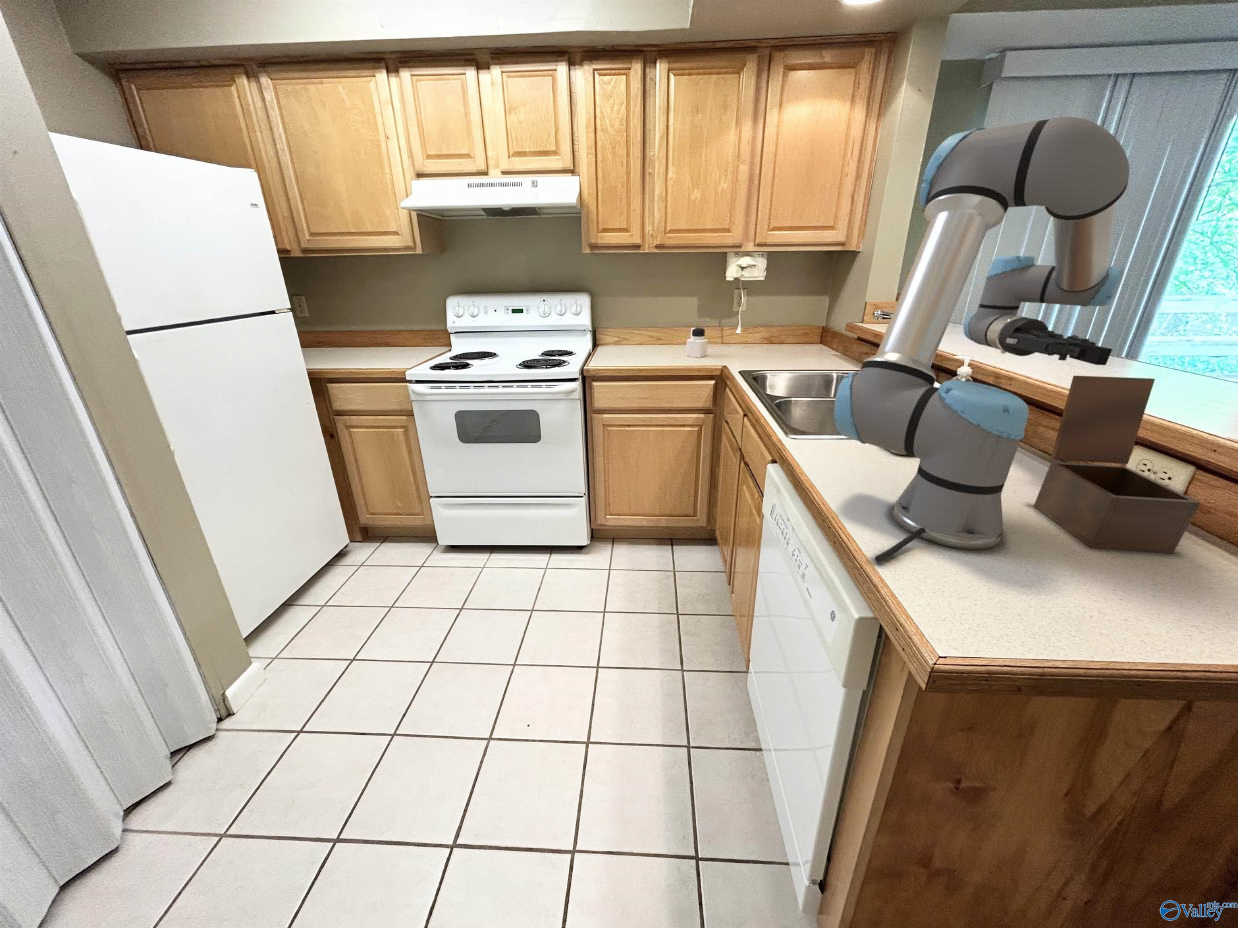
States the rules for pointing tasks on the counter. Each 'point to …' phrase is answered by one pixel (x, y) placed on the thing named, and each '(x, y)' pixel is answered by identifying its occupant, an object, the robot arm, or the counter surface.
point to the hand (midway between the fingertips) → (1104, 357)
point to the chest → (1115, 507)
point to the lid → (1101, 419)
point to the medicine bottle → (697, 343)
